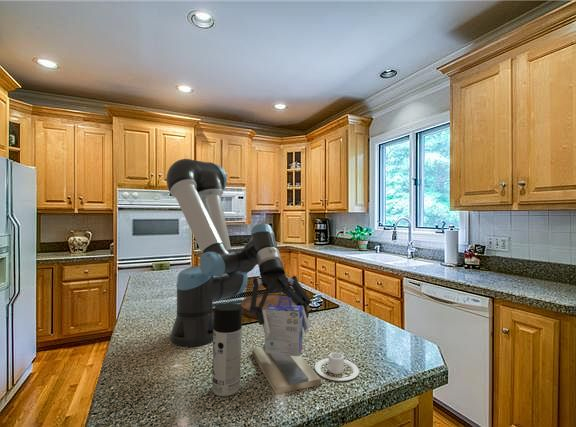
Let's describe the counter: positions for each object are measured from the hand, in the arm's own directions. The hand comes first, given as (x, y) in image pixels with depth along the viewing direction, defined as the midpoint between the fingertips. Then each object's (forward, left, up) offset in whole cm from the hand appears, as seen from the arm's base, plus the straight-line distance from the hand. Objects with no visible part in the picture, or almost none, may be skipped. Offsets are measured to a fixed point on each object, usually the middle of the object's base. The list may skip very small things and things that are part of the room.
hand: (287, 332), depth 81 cm
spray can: (-17, -2, -11) cm, 20 cm away
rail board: (0, +3, -11) cm, 11 cm away
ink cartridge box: (0, +3, -6) cm, 7 cm away
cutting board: (+14, +54, -11) cm, 57 cm away
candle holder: (+13, -3, -11) cm, 18 cm away
